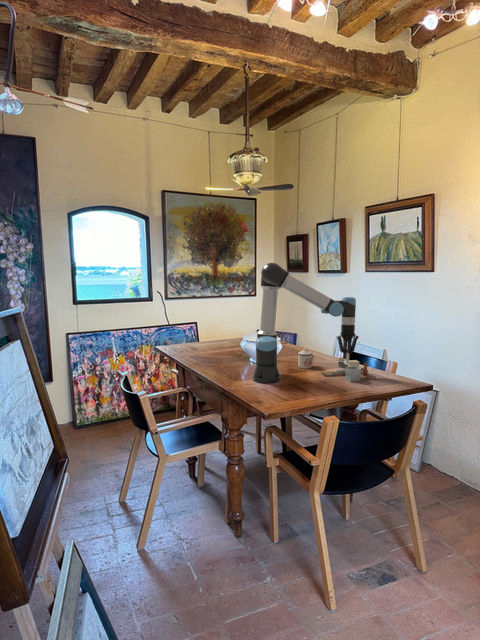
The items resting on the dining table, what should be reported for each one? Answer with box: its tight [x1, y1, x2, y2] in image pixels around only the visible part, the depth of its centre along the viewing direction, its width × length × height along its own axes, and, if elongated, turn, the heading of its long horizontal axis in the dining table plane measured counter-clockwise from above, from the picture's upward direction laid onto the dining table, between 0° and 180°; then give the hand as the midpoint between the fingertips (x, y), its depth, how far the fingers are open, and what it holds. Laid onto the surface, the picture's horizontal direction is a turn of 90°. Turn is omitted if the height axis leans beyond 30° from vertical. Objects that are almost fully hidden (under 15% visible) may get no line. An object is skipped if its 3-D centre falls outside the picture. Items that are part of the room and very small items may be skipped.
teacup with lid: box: [297, 348, 315, 369], centre depth 244 cm, size 12×9×12 cm
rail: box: [320, 367, 369, 378], centre depth 226 cm, size 26×6×2 cm, turn 100°
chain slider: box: [335, 359, 360, 372], centre depth 226 cm, size 13×4×6 cm, turn 100°
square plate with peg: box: [360, 362, 377, 381], centre depth 217 cm, size 8×8×8 cm
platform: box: [336, 356, 348, 369], centre depth 240 cm, size 12×18×7 cm, turn 44°
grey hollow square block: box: [344, 366, 361, 383], centre depth 213 cm, size 6×6×7 cm
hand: (346, 364), depth 225 cm, fingers closed
